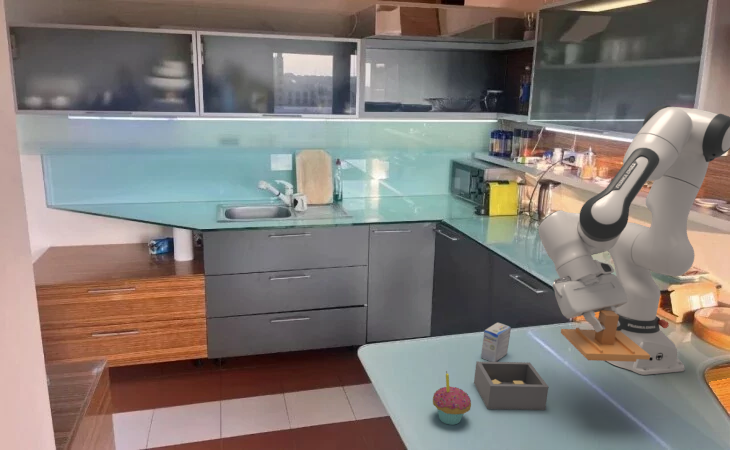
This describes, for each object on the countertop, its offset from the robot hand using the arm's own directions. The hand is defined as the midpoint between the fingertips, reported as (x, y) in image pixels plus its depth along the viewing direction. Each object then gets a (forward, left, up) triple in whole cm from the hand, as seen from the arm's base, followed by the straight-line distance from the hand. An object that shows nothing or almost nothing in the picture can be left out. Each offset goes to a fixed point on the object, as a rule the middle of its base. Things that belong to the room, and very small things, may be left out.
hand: (608, 329), depth 129 cm
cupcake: (+35, +2, -22) cm, 42 cm away
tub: (+18, -8, -22) cm, 29 cm away
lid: (0, 0, -6) cm, 6 cm away
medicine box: (+15, -29, -22) cm, 39 cm away
